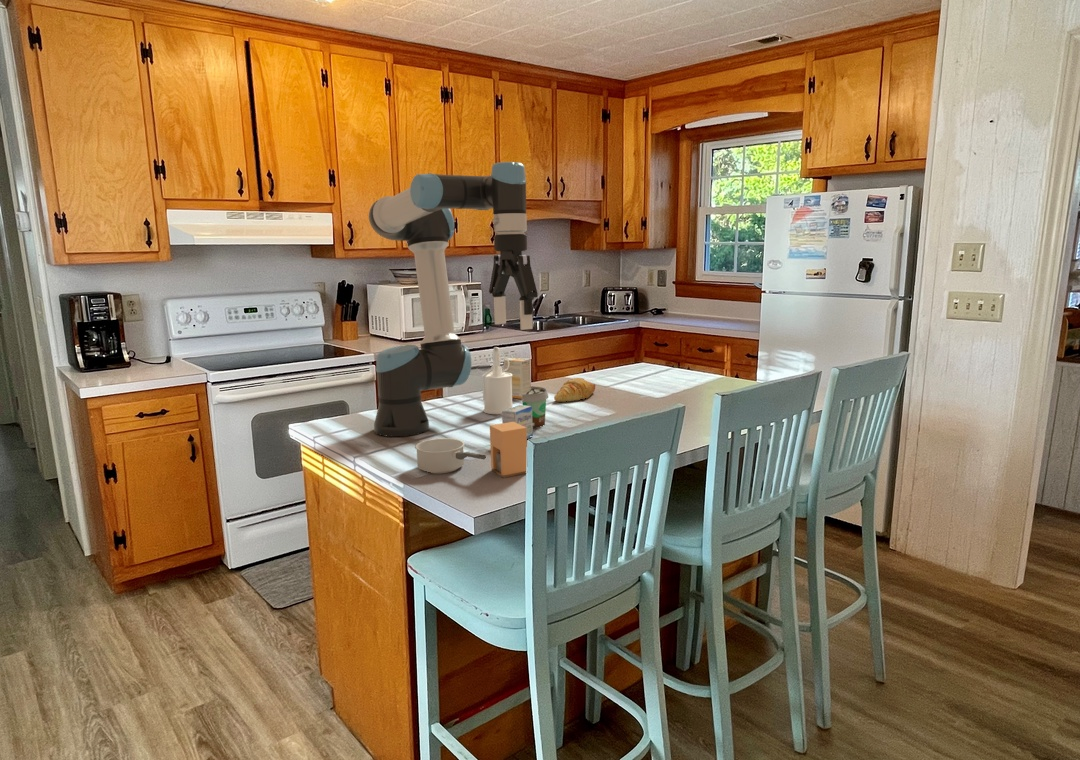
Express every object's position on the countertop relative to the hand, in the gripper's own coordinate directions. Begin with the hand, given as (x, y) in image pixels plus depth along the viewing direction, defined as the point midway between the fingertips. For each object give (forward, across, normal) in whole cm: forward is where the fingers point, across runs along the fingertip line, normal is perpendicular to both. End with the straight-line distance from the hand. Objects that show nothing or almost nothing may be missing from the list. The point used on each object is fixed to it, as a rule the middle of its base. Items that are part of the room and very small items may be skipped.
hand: (513, 326), depth 160 cm
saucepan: (+32, +2, -17) cm, 36 cm away
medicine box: (+32, -13, +7) cm, 35 cm away
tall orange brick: (+31, +9, -6) cm, 33 cm away
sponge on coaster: (+32, +9, -6) cm, 34 cm away
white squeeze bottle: (+32, -45, +16) cm, 57 cm away
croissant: (+32, -48, +46) cm, 74 cm away
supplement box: (+32, -60, +31) cm, 75 cm away
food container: (+32, -24, +19) cm, 44 cm away
